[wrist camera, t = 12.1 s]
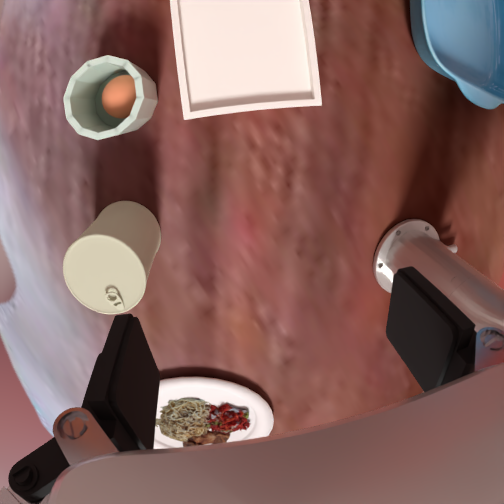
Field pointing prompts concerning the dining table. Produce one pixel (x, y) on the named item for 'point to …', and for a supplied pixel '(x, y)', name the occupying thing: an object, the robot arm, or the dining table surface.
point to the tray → (244, 55)
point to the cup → (90, 98)
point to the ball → (119, 96)
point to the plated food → (208, 413)
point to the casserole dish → (463, 44)
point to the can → (113, 258)
